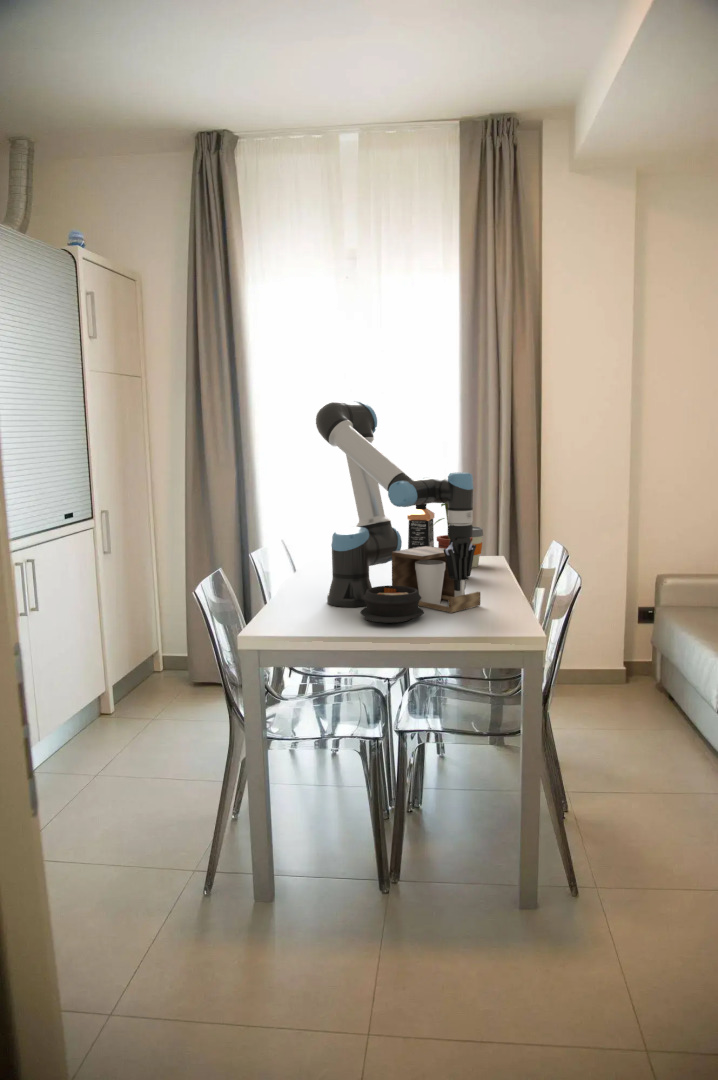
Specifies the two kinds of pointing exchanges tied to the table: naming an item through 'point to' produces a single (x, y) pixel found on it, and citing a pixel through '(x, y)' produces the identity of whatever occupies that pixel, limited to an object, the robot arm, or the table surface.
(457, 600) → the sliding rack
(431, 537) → the whiskey bottle
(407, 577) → the cubby cabinet
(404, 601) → the casserole
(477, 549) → the reusable coffee cup
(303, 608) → the table surface
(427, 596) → the foam cup
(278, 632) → the table surface
